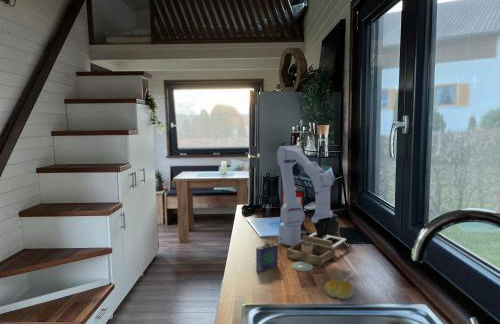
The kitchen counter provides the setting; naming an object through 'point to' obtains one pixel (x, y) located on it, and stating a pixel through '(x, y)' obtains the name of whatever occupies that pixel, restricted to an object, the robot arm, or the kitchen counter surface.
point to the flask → (266, 257)
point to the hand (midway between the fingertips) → (322, 236)
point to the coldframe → (318, 257)
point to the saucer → (302, 266)
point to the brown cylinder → (307, 248)
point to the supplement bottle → (333, 228)
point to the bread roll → (339, 289)
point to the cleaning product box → (298, 196)
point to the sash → (322, 240)
